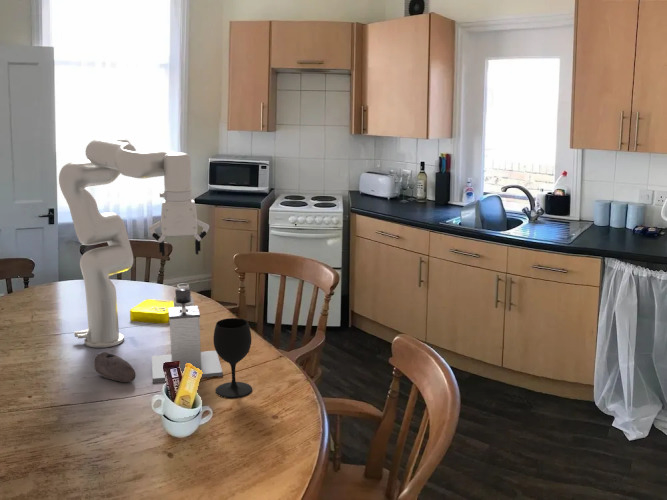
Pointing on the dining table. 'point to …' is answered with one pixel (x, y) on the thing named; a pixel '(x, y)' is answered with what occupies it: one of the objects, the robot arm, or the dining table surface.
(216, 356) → the grey board
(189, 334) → the grey block
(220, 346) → the wine glass
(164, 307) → the element tile
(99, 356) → the perforated stone tool
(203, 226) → the robot arm
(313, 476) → the dining table surface
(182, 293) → the dark grey cylinder
